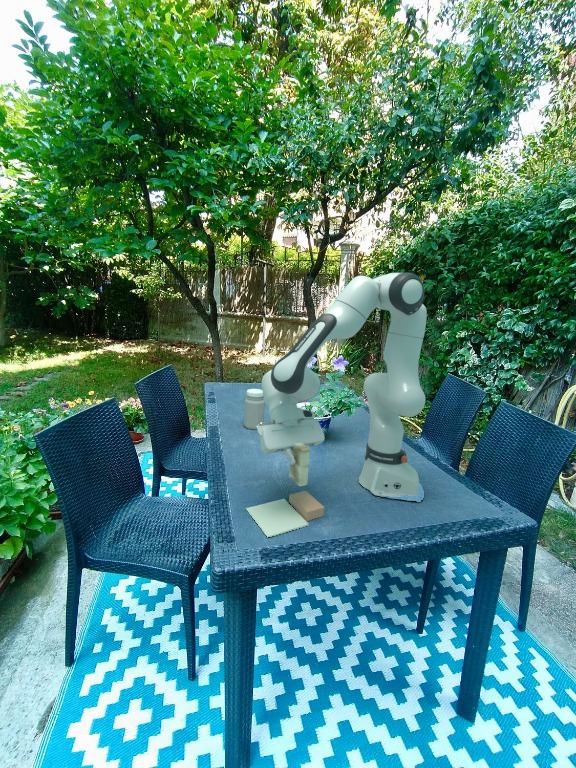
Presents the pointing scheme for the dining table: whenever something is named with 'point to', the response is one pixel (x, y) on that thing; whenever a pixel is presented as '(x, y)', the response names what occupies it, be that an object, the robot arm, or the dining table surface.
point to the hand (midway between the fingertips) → (300, 462)
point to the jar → (254, 408)
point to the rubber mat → (276, 517)
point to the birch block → (300, 464)
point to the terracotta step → (306, 505)
